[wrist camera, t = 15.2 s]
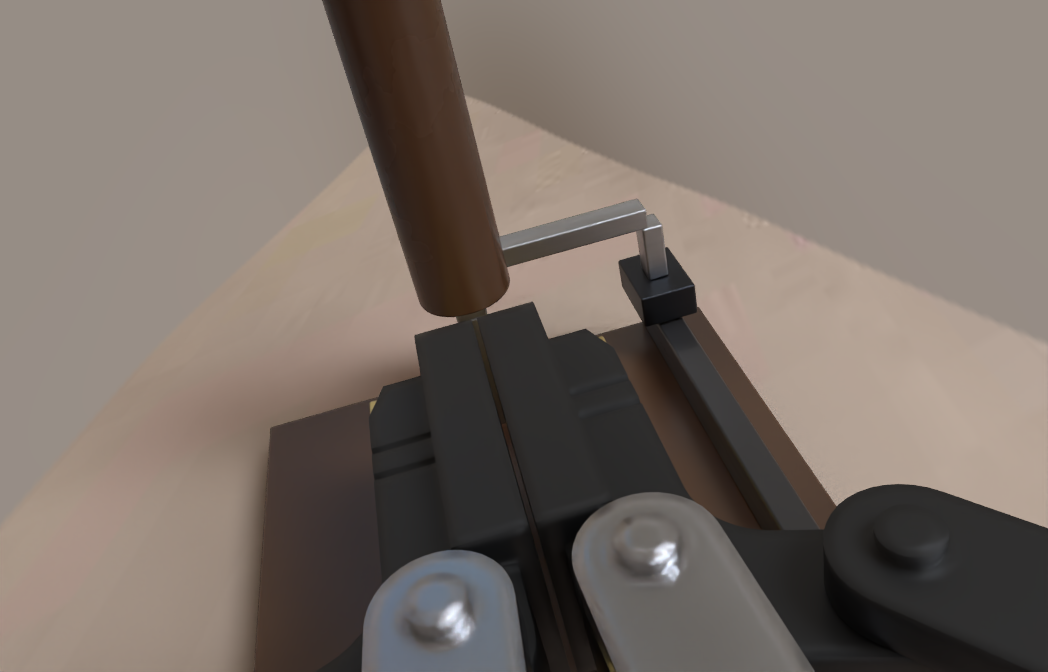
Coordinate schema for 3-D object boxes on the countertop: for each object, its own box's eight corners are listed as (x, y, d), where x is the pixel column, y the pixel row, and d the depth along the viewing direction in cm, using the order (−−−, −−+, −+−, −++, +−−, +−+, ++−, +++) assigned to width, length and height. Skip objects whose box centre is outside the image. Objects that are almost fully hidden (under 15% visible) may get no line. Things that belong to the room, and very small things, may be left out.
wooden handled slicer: (464, 452, 24) (250, -206, 16) (440, 339, 29) (265, -216, 20) (727, 376, 25) (663, -310, 16) (661, 277, 29) (584, -295, 21)
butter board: (254, 1216, 14) (104, 1117, 11) (285, 461, 29) (226, 336, 26) (1096, 942, 15) (1159, 783, 12) (702, 342, 29) (687, 207, 27)
